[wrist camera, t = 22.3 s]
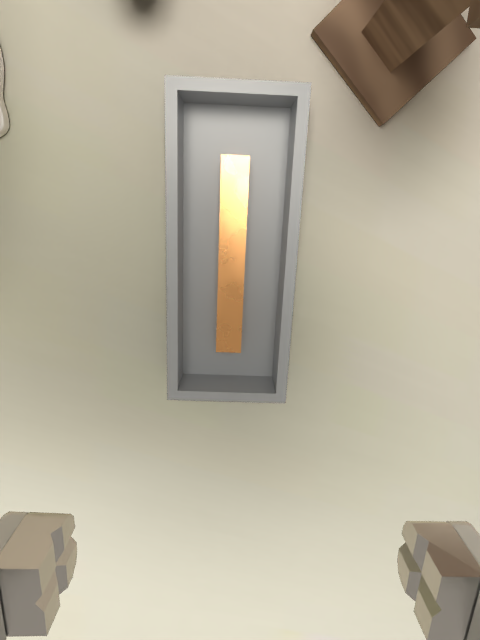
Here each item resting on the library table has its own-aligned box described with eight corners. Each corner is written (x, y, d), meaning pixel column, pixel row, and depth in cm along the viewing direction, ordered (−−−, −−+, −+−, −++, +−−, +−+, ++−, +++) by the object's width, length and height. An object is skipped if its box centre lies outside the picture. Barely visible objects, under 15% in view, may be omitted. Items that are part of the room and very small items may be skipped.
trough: (279, 381, 54) (285, 403, 48) (174, 378, 53) (167, 399, 47) (301, 98, 44) (311, 82, 38) (173, 92, 44) (164, 75, 38)
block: (240, 344, 51) (240, 352, 48) (216, 343, 51) (215, 352, 48) (248, 158, 45) (249, 155, 42) (221, 157, 45) (221, 154, 42)
